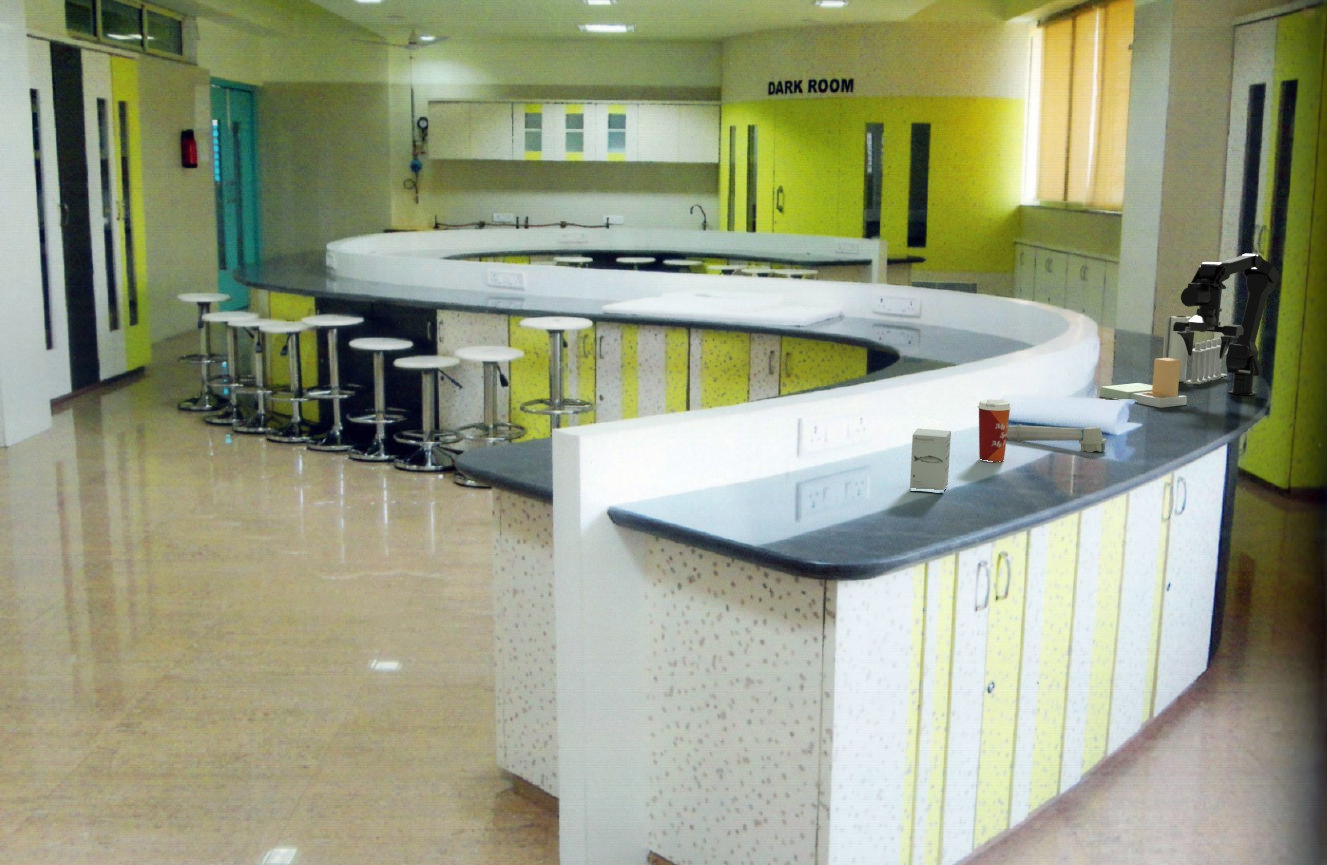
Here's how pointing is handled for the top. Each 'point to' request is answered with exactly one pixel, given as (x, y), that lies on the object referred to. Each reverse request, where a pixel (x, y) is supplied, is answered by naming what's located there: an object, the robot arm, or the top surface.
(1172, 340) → the paper towel roll
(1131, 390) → the cream stepped slab
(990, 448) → the paper cup
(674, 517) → the top surface
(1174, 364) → the tan footed upright block
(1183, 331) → the robot arm
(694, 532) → the top surface
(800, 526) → the top surface
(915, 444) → the supplement box
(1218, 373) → the test tube rack
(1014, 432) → the grey piece
